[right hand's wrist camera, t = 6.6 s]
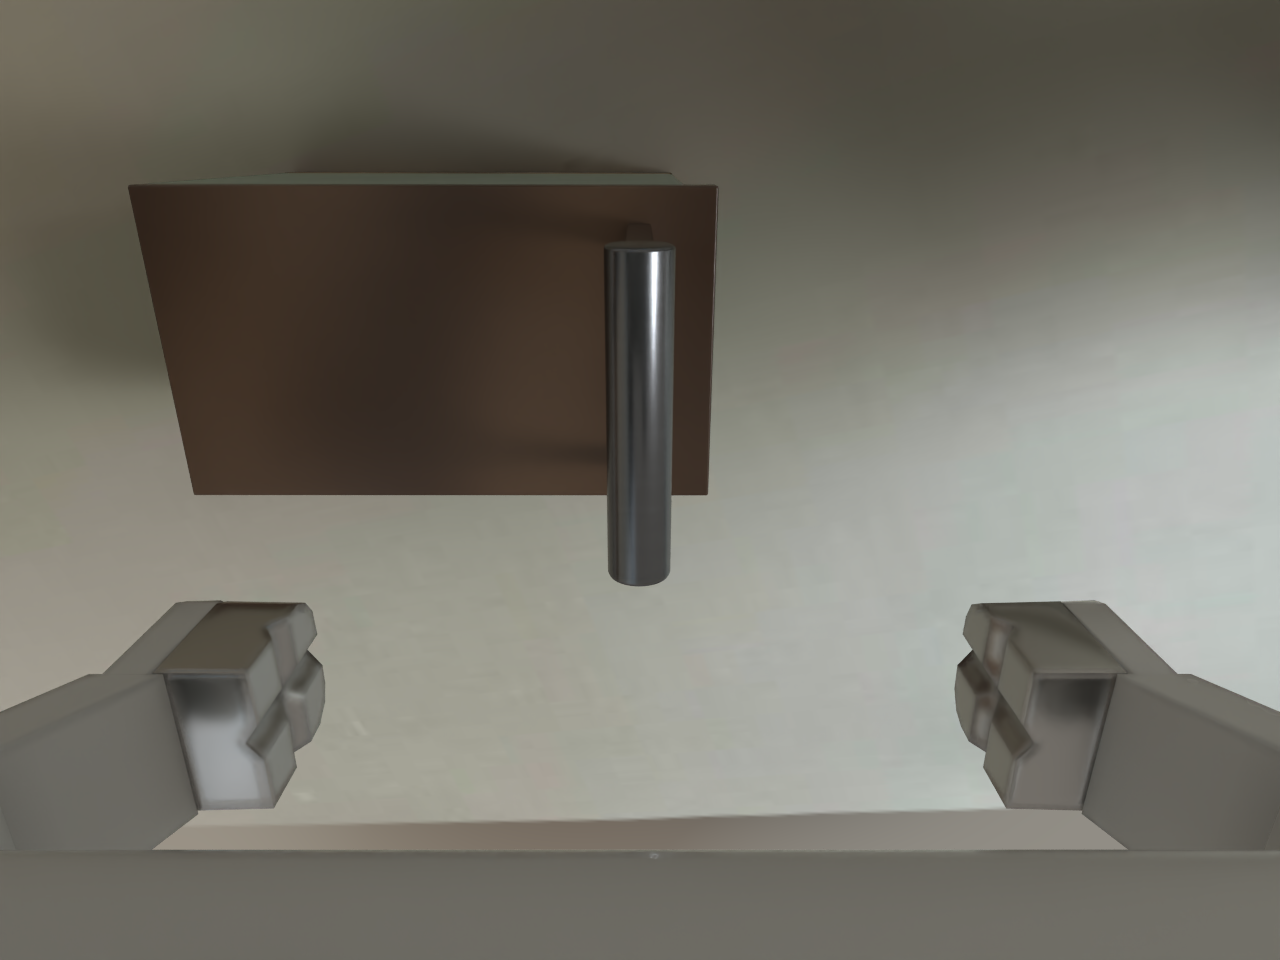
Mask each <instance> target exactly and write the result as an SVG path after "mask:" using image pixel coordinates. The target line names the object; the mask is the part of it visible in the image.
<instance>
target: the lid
mask: <svg viewBox="0 0 1280 960" xmlns="http://www.w3.org/2000/svg"><path fill="white" fill-rule="evenodd" d="M128 189H129V194H130V199H131V203H132V208H133V213H134V217H135V222H136V227H137V231H138V236H139V241H140V245H141V250H142V255H143V259H144V264H145V268H146V273H147V278H148V282H149V287H150V292H151V296H152V301H153V306H154V310H155V315H156V320H157V324H158V329H159V334H160V338H161V343H162V348H163V352H164V357H165V362H166V366H167V371H168V375H169V380H170V385H171V389H172V394H173V399H174V403H175V408H176V413H177V417H178V422H179V427H180V431H181V436H182V441H183V445H184V450H185V455H186V459H187V464H188V469H189V473H190V478H191V482H192V487H193V492H194V495H607V528H608V572H609V574H610V576H611V577H612V578H613V579H614V580H615V581H617V582H619V583H622V584H625V585H630V586H649V585H654V584H657V583H659V582H661V581H663V580H665V579H666V578H667V576H668V575H669V573H670V549H671V495H707V494H708V479H709V450H710V421H711V393H712V364H713V335H714V307H715V278H716V249H717V220H718V192H719V188H718V186H716V185H638V184H135V185H129V186H128Z"/></svg>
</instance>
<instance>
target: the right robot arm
mask: <svg viewBox="0 0 1280 960" xmlns="http://www.w3.org/2000/svg"><path fill="white" fill-rule="evenodd" d="M316 635H317V631H316V626H315V621H314V616H313V612H312V610H311V609H310V608H309V607H308V606H307V604H306V603H291V602H238V601H226V602H223V601H221V600H220V601H186V602H179V603H175V604H174V605H173V606H172V607H171V608H170V609H169V610H168V611H167V612H166V613H165V614H164V615H163V616H162V617H161V618H160V619H159V620H158V621H157V622H156V623H155V624H154V625H153V626H152V627H151V628H149V629H148V630H147V631H146V632H145V633H144V634H143V635H142V636H141V637H140V638H139V639H138V640H137V641H136V642H135V643H134V644H133V645H132V646H131V647H130V648H129V649H128V650H127V651H126V652H125V653H124V654H123V655H122V656H121V657H120V658H119V659H118V660H116V661H115V662H114V663H113V664H112V665H111V666H110V667H109V668H108V669H107V670H106V671H105V672H104V673H103V674H88V675H86V676H83V677H81V678H79V679H76V680H74V681H72V682H69V683H67V684H65V685H62V686H60V687H58V688H55V689H53V690H51V691H48V692H46V693H44V694H41V695H39V696H37V697H34V698H32V699H29V700H27V701H25V702H22V703H20V704H18V705H15V706H13V707H11V708H8V709H6V710H4V711H1V712H0V960H1280V712H1278V711H1276V710H1274V709H1271V708H1269V707H1267V706H1264V705H1262V704H1260V703H1257V702H1255V701H1253V700H1250V699H1248V698H1246V697H1243V696H1241V695H1239V694H1236V693H1234V692H1232V691H1229V690H1227V689H1225V688H1222V687H1220V686H1218V685H1215V684H1213V683H1211V682H1208V681H1206V680H1204V679H1201V678H1199V677H1197V676H1194V675H1192V674H1177V673H1176V672H1175V671H1174V670H1173V669H1172V668H1171V667H1170V666H1169V665H1168V664H1167V663H1166V662H1165V661H1164V660H1163V659H1162V658H1161V657H1159V656H1158V655H1157V654H1156V653H1155V652H1154V651H1153V650H1152V649H1151V648H1150V647H1149V646H1148V645H1147V644H1146V643H1145V642H1144V641H1143V640H1142V639H1141V638H1140V637H1139V636H1138V635H1137V634H1136V633H1135V632H1134V631H1133V630H1132V629H1131V628H1130V627H1129V626H1128V625H1127V624H1126V623H1125V622H1124V621H1122V620H1121V619H1120V618H1119V617H1118V616H1117V615H1116V614H1115V613H1114V612H1113V611H1112V610H1111V609H1110V608H1109V607H1108V606H1107V605H1106V604H1104V603H1101V602H1098V601H1095V600H1089V601H1065V602H1061V601H1058V602H1017V603H980V604H972V605H971V607H970V609H969V611H968V613H967V616H966V620H965V625H964V630H963V635H964V637H965V639H966V640H967V642H968V643H969V645H970V646H971V648H972V649H973V650H972V651H971V652H970V653H969V654H968V655H967V656H966V657H965V658H964V659H963V660H962V661H961V662H960V663H959V664H958V666H957V673H956V681H955V700H956V711H957V714H958V718H959V721H960V724H961V727H962V729H963V731H964V733H965V735H966V737H967V739H968V741H969V742H971V743H972V744H974V745H975V746H977V747H979V748H980V749H982V750H983V751H985V752H986V755H985V760H984V766H983V768H984V770H985V771H986V773H987V775H988V777H989V778H990V780H991V782H992V784H993V786H994V787H995V789H996V791H997V793H998V794H999V796H1000V798H1001V800H1002V802H1003V803H1004V805H1005V807H1006V808H1011V809H1048V810H1082V814H1083V815H1084V816H1085V817H1087V818H1088V819H1089V820H1091V821H1092V822H1093V823H1095V824H1096V825H1097V826H1098V827H1100V828H1101V829H1102V830H1104V831H1105V832H1106V833H1107V834H1109V835H1110V836H1111V837H1113V838H1114V839H1115V840H1117V841H1118V842H1119V843H1121V844H1122V845H1123V846H1124V847H1126V848H1127V849H1128V850H152V849H153V848H155V847H156V846H157V845H158V844H160V843H161V842H162V841H164V840H165V839H166V838H168V837H169V836H170V835H171V834H173V833H174V832H175V831H177V830H178V829H179V828H181V827H182V826H183V825H185V824H186V823H187V822H188V821H190V820H191V819H192V818H194V817H195V816H196V815H198V811H197V810H231V809H267V808H274V807H275V805H276V803H277V802H278V800H279V798H280V796H281V795H282V793H283V791H284V789H285V787H286V786H287V784H288V782H289V780H290V778H291V777H292V775H293V773H294V771H295V770H296V768H297V766H296V760H295V755H294V752H295V751H297V750H298V749H300V748H301V747H303V746H305V745H306V744H308V743H309V742H311V741H312V739H313V737H314V735H315V733H316V731H317V729H318V727H319V725H320V721H321V717H322V713H323V708H324V704H325V679H324V672H323V666H322V664H321V663H320V662H319V661H318V660H317V659H316V658H315V657H314V656H313V655H312V654H311V653H310V652H309V651H308V650H307V649H308V648H309V646H310V645H311V643H312V642H313V640H314V639H315V637H316Z"/></svg>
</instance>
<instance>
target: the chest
mask: <svg viewBox="0 0 1280 960" xmlns="http://www.w3.org/2000/svg"><path fill="white" fill-rule="evenodd" d="M148 184H638V185H683V184H682V183H681V182H680V181H679V180H677V179H676V178H675V177H674V176H673V175H672V174H671V173H474V172H289V173H281V174H267V175H254V176H241V177H228V178H214V179H201V180H188V181H174V182H161V183H148Z"/></svg>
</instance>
